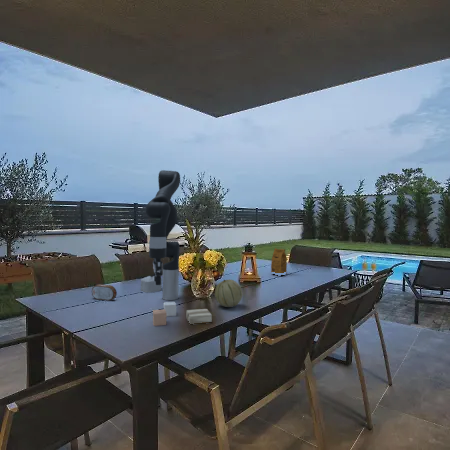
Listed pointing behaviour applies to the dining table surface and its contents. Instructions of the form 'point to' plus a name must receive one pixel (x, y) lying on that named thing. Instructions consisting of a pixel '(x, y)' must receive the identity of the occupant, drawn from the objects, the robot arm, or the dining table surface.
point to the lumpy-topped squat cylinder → (150, 285)
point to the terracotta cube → (159, 317)
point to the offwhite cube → (170, 308)
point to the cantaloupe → (228, 293)
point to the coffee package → (279, 261)
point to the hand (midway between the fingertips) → (157, 283)
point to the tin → (104, 292)
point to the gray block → (198, 316)
